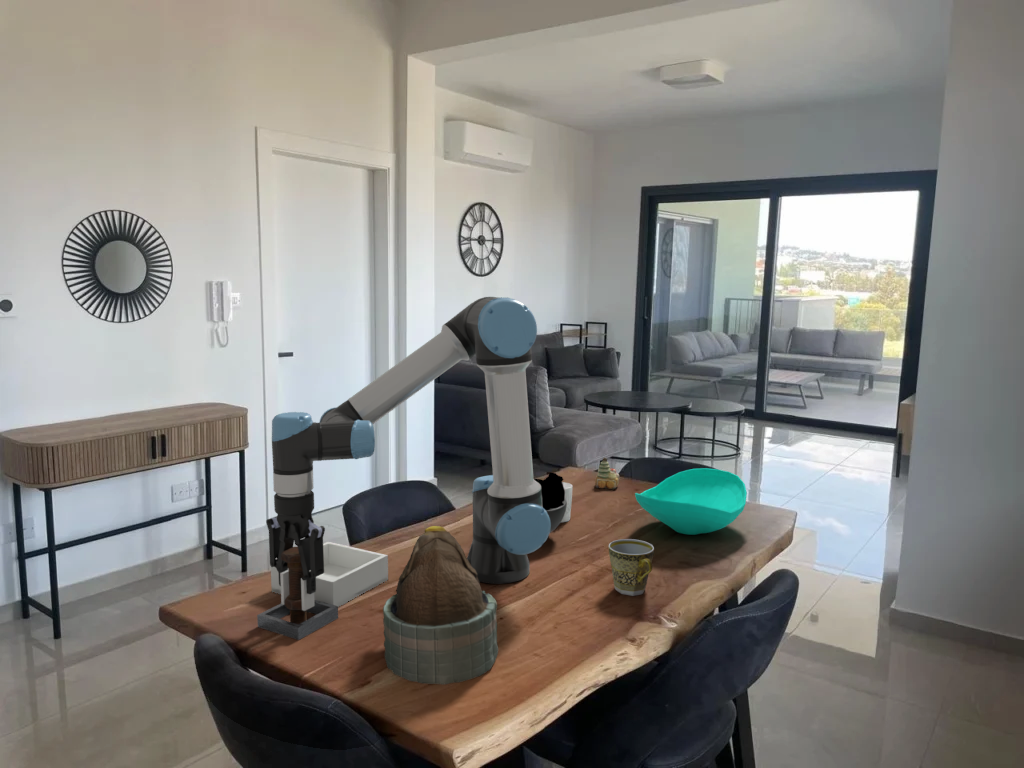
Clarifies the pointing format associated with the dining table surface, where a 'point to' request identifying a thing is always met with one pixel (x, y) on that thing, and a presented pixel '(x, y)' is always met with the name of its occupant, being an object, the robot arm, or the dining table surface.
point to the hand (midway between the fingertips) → (297, 604)
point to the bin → (344, 573)
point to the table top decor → (696, 500)
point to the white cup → (568, 499)
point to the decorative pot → (439, 616)
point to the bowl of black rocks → (553, 498)
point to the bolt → (294, 585)
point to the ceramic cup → (630, 565)
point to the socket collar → (297, 631)
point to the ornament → (606, 476)
